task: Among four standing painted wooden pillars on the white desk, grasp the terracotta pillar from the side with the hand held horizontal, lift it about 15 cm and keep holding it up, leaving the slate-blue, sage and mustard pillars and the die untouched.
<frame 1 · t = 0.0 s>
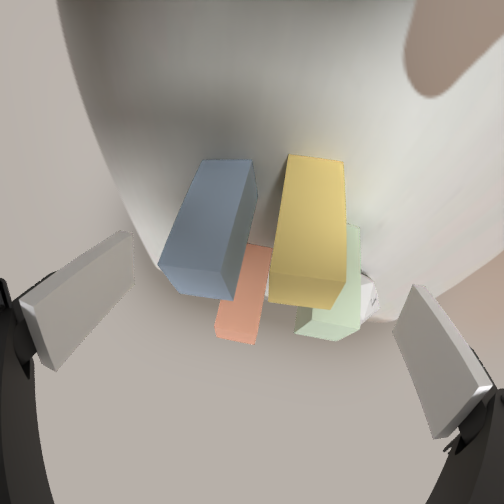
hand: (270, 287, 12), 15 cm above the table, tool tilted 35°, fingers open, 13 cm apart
terracotta pillar: (253, 254, 40), on the table
die: (350, 273, 40), on the table
mustard pillar: (313, 177, 26), on the table
slate pillar: (231, 178, 28), on the table
sage pillar: (331, 233, 33), on the table
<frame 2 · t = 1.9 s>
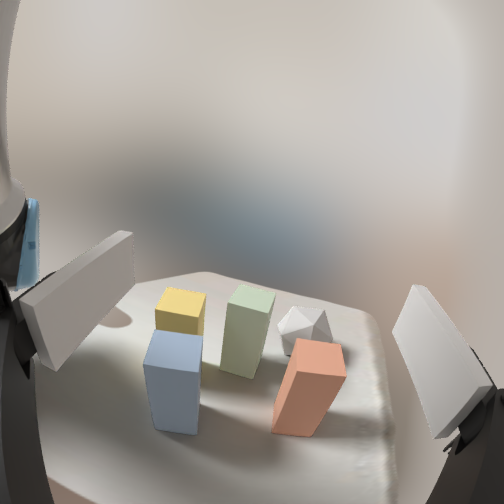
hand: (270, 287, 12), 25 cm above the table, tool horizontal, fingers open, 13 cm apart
terracotta pillar: (292, 419, 31), on the table
die: (298, 350, 45), on the table
mustard pillar: (181, 369, 37), on the table
slate pillar: (178, 416, 29), on the table
sage pillar: (241, 363, 40), on the table
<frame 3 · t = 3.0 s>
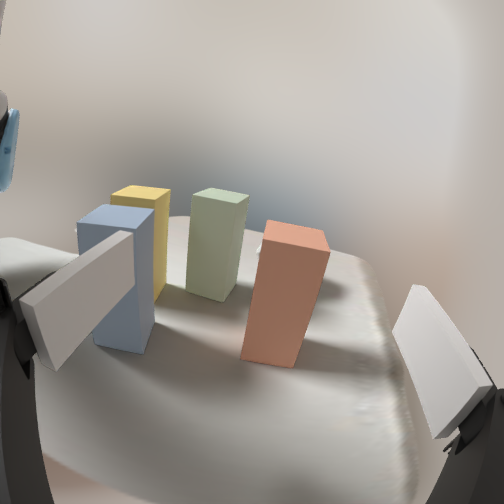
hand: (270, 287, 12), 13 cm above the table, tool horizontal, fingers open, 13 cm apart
terracotta pillar: (268, 346, 27), on the table
mustard pillar: (141, 289, 33), on the table
slate pillar: (125, 332, 25), on the table
sage pillar: (211, 287, 36), on the table
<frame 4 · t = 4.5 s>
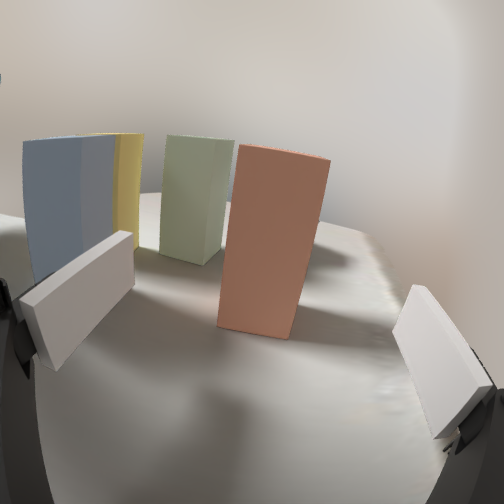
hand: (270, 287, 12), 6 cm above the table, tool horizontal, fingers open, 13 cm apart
terracotta pillar: (256, 313, 21), on the table
mustard pillar: (108, 251, 27), on the table
slate pillar: (78, 293, 19), on the table
sage pillar: (191, 251, 30), on the table
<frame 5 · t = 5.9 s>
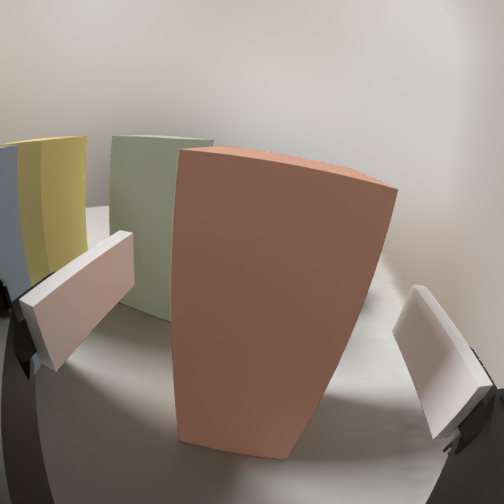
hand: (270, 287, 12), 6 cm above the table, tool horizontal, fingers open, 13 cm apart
terracotta pillar: (239, 412, 13), on the table
mustard pillar: (53, 295, 18), on the table
slate pillar: (6, 365, 11), on the table
sage pillar: (157, 295, 21), on the table
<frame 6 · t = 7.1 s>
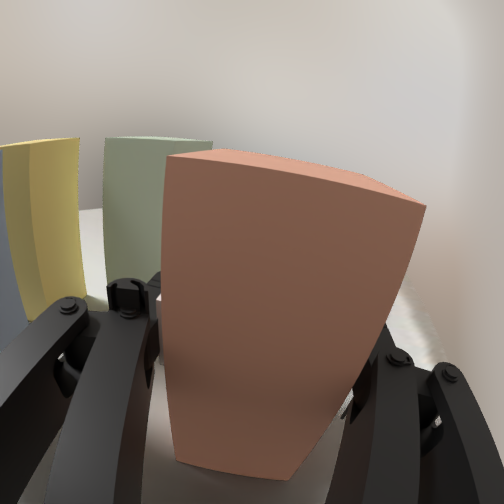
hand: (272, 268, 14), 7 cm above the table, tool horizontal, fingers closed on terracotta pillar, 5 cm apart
terracotta pillar: (240, 431, 12), on the table, touching gripper
mustard pillar: (47, 303, 17), on the table
sage pillar: (155, 303, 20), on the table
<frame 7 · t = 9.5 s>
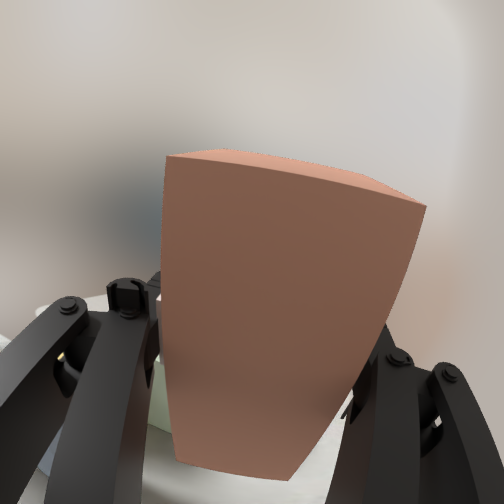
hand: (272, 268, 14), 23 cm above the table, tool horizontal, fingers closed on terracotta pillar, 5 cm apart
terracotta pillar: (240, 431, 12), point 16 cm above the table, touching gripper
slate pillar: (81, 472, 17), on the table
sage pillar: (168, 413, 28), on the table
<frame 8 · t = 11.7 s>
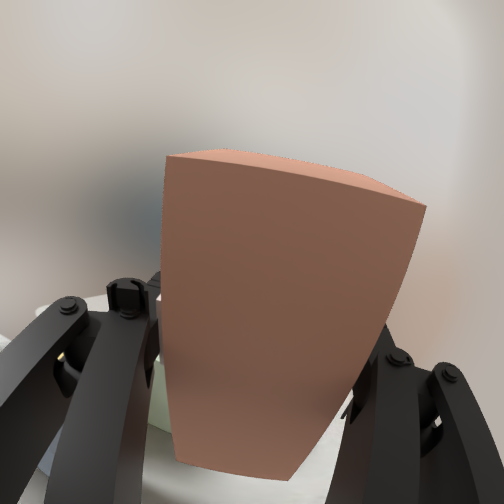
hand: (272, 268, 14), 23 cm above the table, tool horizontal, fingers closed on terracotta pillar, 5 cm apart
terracotta pillar: (240, 431, 12), point 16 cm above the table, touching gripper
slate pillar: (81, 472, 17), on the table
sage pillar: (168, 413, 28), on the table
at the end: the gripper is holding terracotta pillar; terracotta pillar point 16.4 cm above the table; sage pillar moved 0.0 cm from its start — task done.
